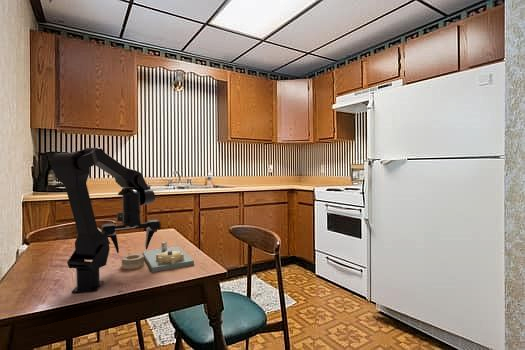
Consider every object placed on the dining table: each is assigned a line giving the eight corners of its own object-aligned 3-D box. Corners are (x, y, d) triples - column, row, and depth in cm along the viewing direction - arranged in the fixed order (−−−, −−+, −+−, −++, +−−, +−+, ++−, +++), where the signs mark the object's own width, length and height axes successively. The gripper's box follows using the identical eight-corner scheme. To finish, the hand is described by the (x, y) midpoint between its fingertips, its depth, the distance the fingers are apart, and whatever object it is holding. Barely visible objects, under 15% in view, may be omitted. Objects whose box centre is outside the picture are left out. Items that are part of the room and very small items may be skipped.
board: (193, 264, 104) (193, 252, 103) (152, 272, 96) (152, 258, 96) (178, 249, 123) (178, 239, 122) (142, 255, 116) (142, 244, 115)
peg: (166, 253, 113) (166, 243, 112) (161, 253, 112) (160, 243, 112) (167, 251, 115) (167, 241, 114) (161, 252, 114) (161, 242, 114)
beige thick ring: (145, 266, 102) (144, 258, 102) (123, 270, 99) (122, 261, 99) (142, 261, 108) (142, 253, 108) (121, 264, 105) (121, 256, 105)
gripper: (155, 203, 114) (155, 242, 115) (100, 206, 105) (101, 249, 106) (160, 206, 105) (161, 249, 105) (101, 210, 95) (102, 257, 96)
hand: (132, 251), depth 103 cm, fingers open, 9 cm apart
